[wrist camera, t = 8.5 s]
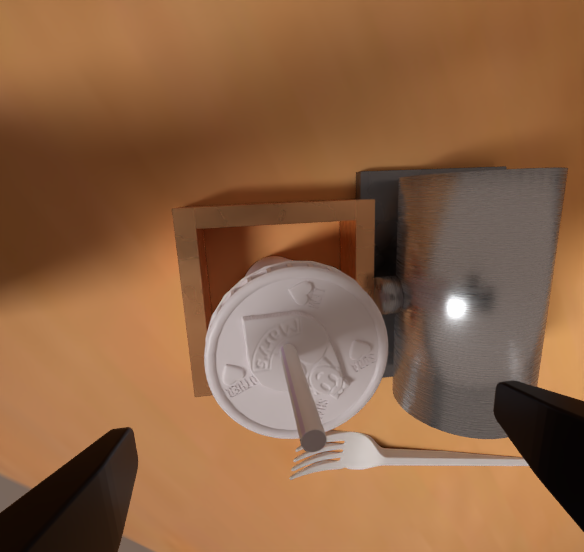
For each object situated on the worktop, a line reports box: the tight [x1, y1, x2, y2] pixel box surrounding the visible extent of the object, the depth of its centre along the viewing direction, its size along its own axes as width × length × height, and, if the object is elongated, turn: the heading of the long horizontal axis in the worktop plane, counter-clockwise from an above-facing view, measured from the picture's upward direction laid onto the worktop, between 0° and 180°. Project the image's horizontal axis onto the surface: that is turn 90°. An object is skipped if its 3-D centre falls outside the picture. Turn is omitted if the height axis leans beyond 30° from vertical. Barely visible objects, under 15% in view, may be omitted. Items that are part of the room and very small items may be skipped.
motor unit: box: [172, 167, 568, 439], centre depth 18 cm, size 19×13×8 cm
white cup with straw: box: [204, 256, 388, 452], centre depth 14 cm, size 6×6×14 cm
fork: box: [290, 431, 529, 480], centre depth 25 cm, size 3×20×2 cm, turn 79°
